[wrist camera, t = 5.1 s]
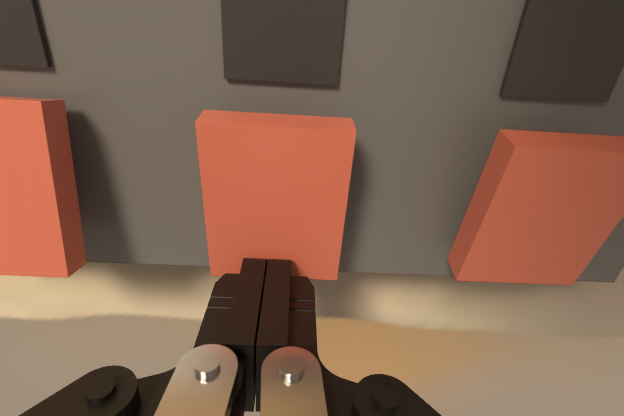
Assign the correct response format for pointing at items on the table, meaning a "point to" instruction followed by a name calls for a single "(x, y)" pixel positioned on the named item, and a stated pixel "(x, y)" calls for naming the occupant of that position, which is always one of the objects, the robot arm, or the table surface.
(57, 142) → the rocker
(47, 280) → the table surface
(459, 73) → the power strip
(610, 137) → the block
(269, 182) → the block
